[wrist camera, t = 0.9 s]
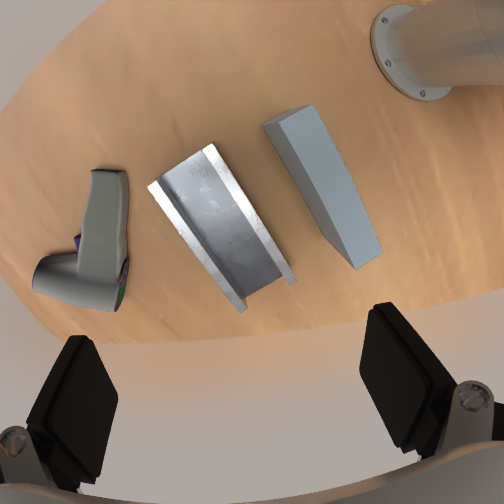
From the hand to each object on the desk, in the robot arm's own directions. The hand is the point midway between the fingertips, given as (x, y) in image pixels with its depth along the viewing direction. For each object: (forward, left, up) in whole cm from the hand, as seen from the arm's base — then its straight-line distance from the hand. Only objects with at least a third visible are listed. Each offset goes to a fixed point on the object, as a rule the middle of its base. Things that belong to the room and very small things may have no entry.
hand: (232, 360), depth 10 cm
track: (+1, +3, -24) cm, 24 cm away
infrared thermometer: (+15, -6, -24) cm, 29 cm away
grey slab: (-9, +3, -24) cm, 26 cm away
